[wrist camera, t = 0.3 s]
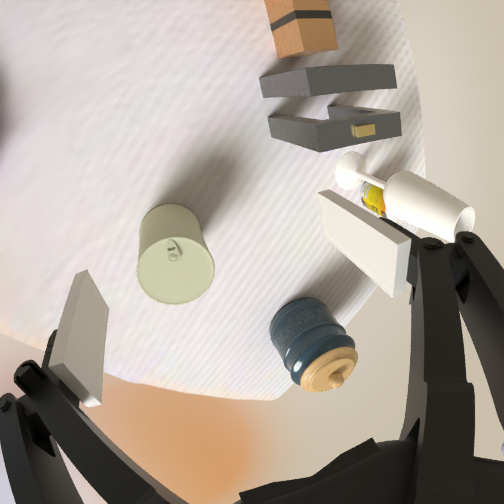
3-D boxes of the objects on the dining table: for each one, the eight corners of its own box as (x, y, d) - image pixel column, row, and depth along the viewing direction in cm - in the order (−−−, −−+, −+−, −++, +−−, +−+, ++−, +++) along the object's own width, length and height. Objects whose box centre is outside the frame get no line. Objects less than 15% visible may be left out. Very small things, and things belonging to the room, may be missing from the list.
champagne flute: (358, 144, 46) (477, 187, 25) (371, 177, 49) (479, 231, 29) (328, 164, 46) (444, 219, 26) (343, 197, 49) (448, 263, 29)
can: (196, 198, 42) (211, 230, 32) (203, 254, 47) (220, 299, 36) (133, 209, 40) (127, 246, 30) (146, 265, 44) (146, 314, 34)
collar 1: (259, 78, 37) (305, 68, 25) (331, 69, 38) (393, 64, 27) (263, 97, 38) (310, 96, 26) (335, 86, 40) (397, 88, 28)
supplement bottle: (353, 200, 50) (391, 221, 42) (367, 172, 49) (407, 189, 40) (373, 211, 53) (409, 233, 44) (386, 185, 51) (424, 203, 43)
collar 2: (267, 117, 40) (318, 125, 27) (338, 105, 41) (403, 112, 29) (271, 137, 41) (322, 153, 29) (340, 123, 43) (405, 136, 31)
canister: (332, 292, 59) (382, 350, 44) (318, 340, 65) (357, 397, 50) (272, 299, 55) (315, 369, 40) (263, 349, 61) (297, 416, 46)
